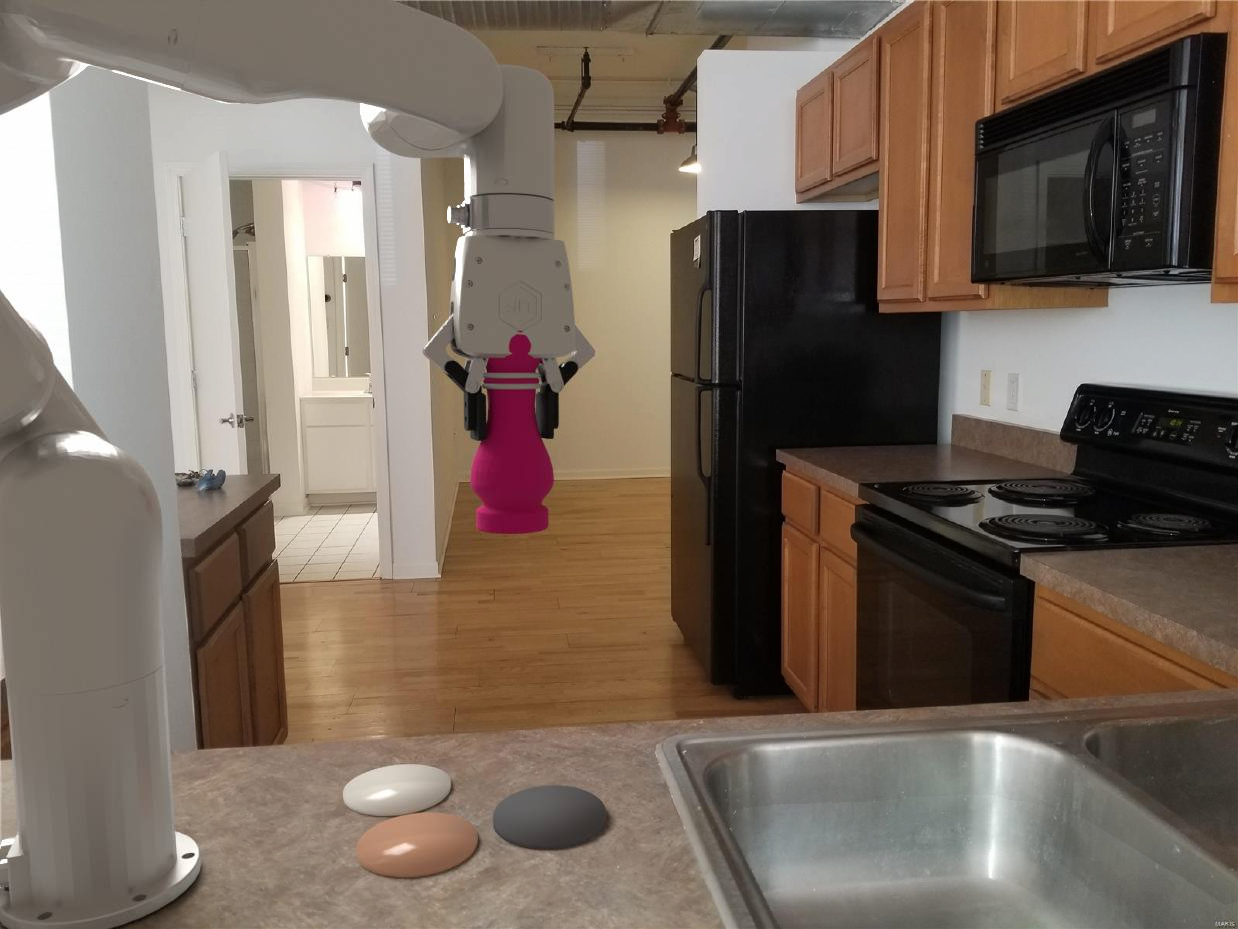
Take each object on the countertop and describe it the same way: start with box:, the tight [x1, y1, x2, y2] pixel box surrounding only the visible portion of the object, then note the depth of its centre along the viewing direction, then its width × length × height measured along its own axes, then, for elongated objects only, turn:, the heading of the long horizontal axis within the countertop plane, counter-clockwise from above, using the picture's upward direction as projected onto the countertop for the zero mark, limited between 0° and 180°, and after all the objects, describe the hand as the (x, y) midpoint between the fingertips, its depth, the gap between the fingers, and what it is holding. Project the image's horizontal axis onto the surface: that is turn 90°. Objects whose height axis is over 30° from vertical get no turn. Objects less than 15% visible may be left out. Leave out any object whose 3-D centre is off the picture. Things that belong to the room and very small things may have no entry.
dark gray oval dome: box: [492, 784, 607, 850], centre depth 77 cm, size 9×9×1 cm
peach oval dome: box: [355, 811, 479, 878], centre depth 73 cm, size 9×9×1 cm
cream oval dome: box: [342, 763, 452, 817], centre depth 82 cm, size 9×9×1 cm
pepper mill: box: [469, 331, 555, 535], centre depth 82 cm, size 7×7×20 cm
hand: (511, 436), depth 83 cm, fingers closed on pepper mill, 5 cm apart
